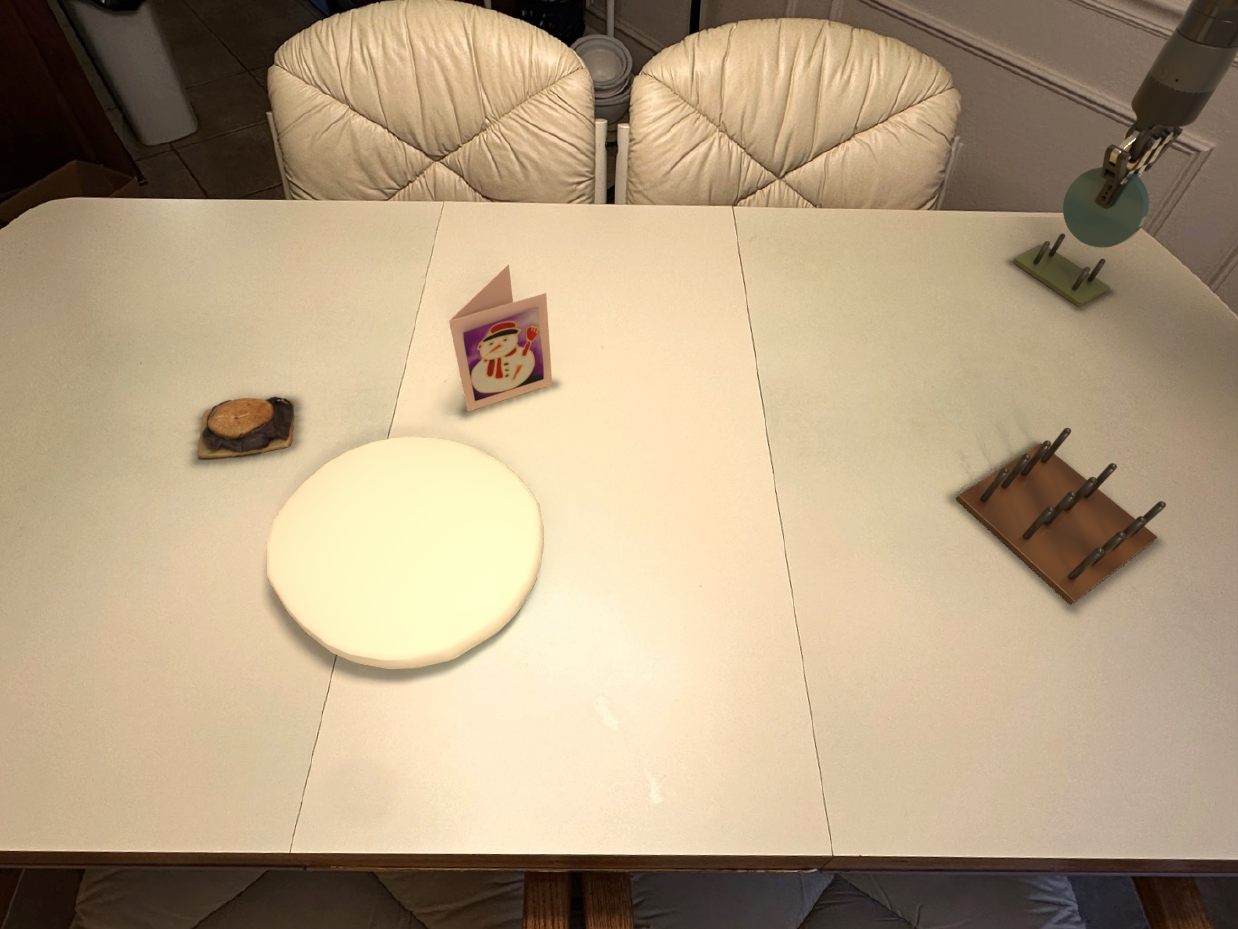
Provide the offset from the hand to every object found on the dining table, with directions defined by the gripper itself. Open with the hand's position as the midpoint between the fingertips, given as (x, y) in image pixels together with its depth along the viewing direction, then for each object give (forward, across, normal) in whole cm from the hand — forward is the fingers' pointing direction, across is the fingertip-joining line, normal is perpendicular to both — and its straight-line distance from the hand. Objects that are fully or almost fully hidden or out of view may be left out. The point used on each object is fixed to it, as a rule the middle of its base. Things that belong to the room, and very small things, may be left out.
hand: (1106, 202), depth 103 cm
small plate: (+6, 0, 0) cm, 6 cm away
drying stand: (+13, 0, 0) cm, 13 cm away
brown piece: (+12, -112, +33) cm, 118 cm away
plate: (+12, -102, +6) cm, 103 cm away
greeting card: (+12, -82, +24) cm, 87 cm away
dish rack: (+13, -38, -28) cm, 49 cm away
